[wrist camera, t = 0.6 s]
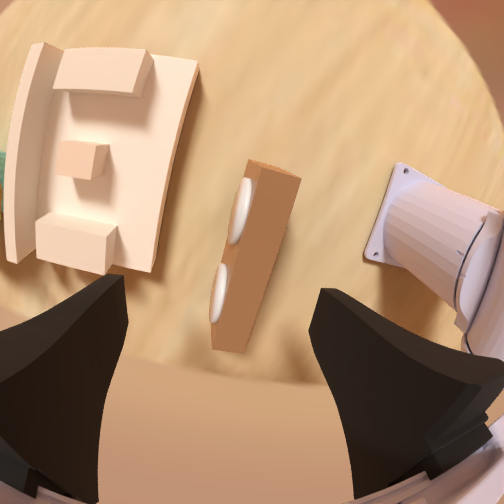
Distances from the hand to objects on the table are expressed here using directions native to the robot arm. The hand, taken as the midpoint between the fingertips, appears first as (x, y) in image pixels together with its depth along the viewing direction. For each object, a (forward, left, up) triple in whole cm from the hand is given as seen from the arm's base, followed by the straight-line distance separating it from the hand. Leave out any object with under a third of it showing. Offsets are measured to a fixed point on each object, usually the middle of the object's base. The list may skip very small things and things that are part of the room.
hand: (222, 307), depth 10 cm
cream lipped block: (+9, -3, -9) cm, 13 cm away
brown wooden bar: (-2, +1, -10) cm, 10 cm away
